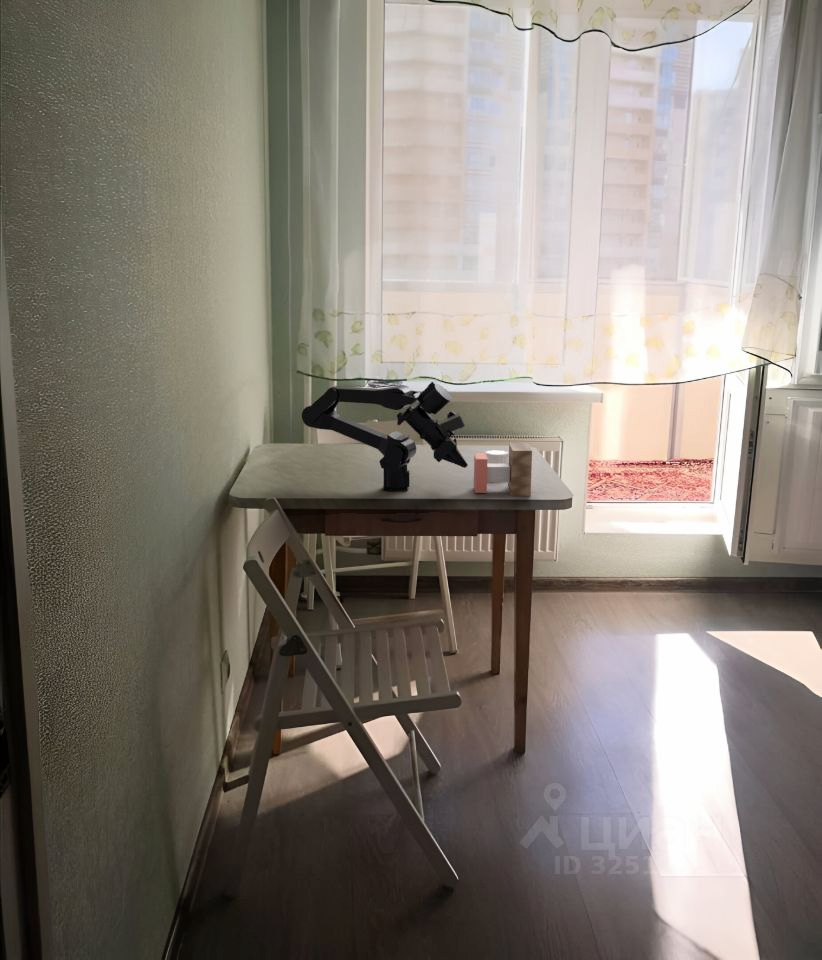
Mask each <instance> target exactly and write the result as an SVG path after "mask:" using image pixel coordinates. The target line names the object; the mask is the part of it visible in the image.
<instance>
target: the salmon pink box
mask: <svg viewBox="0 0 822 960" xmlns="http://www.w3.org/2000/svg"><path fill="white" fill-rule="evenodd" d="M473 456H474V459H473V460H474V461H473V489H474V493H475V494H487V493H488V492H487V489H488V488H487V487H488V482H489V483H508V482H509V480H510V466H509V463H507V464H487V456H486V453H485V452H484V453H482V452H481V453H478V452H477V453H476V452H475V453H473Z"/></svg>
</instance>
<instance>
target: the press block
mask: <svg viewBox="0 0 822 960" xmlns="http://www.w3.org/2000/svg"><path fill="white" fill-rule="evenodd" d="M508 452H509V455H508V464H509V466H510V480H509V482H507V487H509V488H508V491H509V490H510V491H509V494H510V493H511V494H510V496H511V497H531V494H532V465H533V462H532V461H533V449H532V448H531V446H530V444H529V443H528V442H509V443H508Z"/></svg>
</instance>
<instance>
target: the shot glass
mask: <svg viewBox="0 0 822 960" xmlns="http://www.w3.org/2000/svg"><path fill="white" fill-rule="evenodd" d="M484 453H486V456H487V464H509V451H507V450H503V449H490V450H489V449H488V450H485V451H484Z"/></svg>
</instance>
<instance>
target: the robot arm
mask: <svg viewBox="0 0 822 960" xmlns="http://www.w3.org/2000/svg"><path fill="white" fill-rule="evenodd" d="M452 399H453V398H452V395H451V394H450V392H449V390H447V389H446V388H444V387H443V386H442V385H440V384H439V383H437V381H435V380H434V381H431V382H430V383H428V385H427V387H426V388H425V389H424V390H423V391H422V392H419V391H416V390H412V389H411V387H409V386H408V385H403V384H402V385H395V386H389V387H384V388H375V387H374V388H371V387H354V386H353V387H352V386H351V387H350V386H341V385H335V386H332V387H329V388H328V389H327V390H326V391H325V392H324V394H322V395H321V396H320V397H319V398H317V399H316V400H315V401H314V402H313V403H312V404H311V405H308V406H305V407H304V409H303V410H302V411H301V420H302V423H303V424H304V425H305V426H307V427H309V428H313V429H316V430H326V431H332V432H336V433H338V434H339V435H343V436H345V437H347V438H350V439H352V440H355V441H356V442H359V443H361V444H364V445H367V446H369V447H371V448H373V449H376V450H378V452H380V453H381V454H382V456H383V457H382V458H381V459H380V460H379V464H380V467H381V469H383V485H382V491H384V492H406V491H408V489H409V488H410V470H408V464H409V463H410V462H411V459H412V458H413V457H414V456H415V455H416V453H417V445H416V443H415V441H414V439H412V438H410V435H406V434H403V433H401V432H399V431H398V430H394V431H393V432H390V433H388V434H385V433H383V432H381V431H378V430H375V429H373V428H371V427H368V426H366V425H364V424H361V423H359V422H356V421H353V420H351V419H349V418H347V417H344V416H342V415H340V414H339V413H338V412H337V411H336V408H337V406H338V405H339V403H354V404H355V403H356V404H369V405H370V404H372V405H377V406H381V407H383V408H386V409H389V410H394V411H400V410H402V409H404V408H406V407H407V408H406V409H405V410H404V411H403V412H397V415H396V418H397V422H396V423H397V426H401V424H402V423H404V422H405V423H406V424H407V425H408V426H409V427H410V428H411V429H412V430H413V431H414V432H416V434H417V435H418V436H419V438H420V439H421V440H423V441H425V443H427V444H428V446H429V447H430V449H431V450H432V451H433V459H435V460H436V462H438V463H440V462H441V461H442V460H443V461H446V462H448V463H452V464H454V465H456V466H459V467H461V468H467V467H468V463H467V461H466V460H465V457H464V456H463V454H462V453H461V452H460V451H459V449H458V447H457V446H458V443H457V442H458V441H457V437H455V438H451V437H452V436H454V435H456V433H455V431H456V430H458V429H462V428H465V427H466V425H465V424H466V423H465V421H464V419H463V417H462V415H461V413H459V412H457V413H456V412H454V411H453V410H451V411H449V412H447V413H446V415H447V417H446V418H444V419H443V420H439V419H438V418H434V417H433V416H432V415H437V414H438V413H439V412H441V410H442V409H444V408H445V407H446V406H447V405H448V404H449V403H450V402H451V401H452ZM415 403H417V404H416V405H414V406H413V404H415ZM410 405H411V406H410Z"/></svg>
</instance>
